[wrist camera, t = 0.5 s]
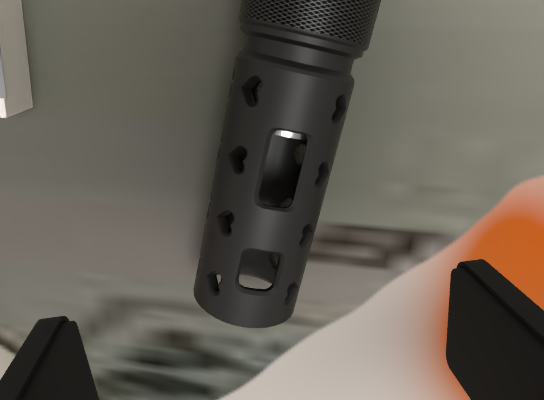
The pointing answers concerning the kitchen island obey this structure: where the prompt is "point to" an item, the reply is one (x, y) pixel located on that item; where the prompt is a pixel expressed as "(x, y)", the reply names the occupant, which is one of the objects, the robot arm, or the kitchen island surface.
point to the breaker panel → (13, 61)
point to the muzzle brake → (277, 152)
